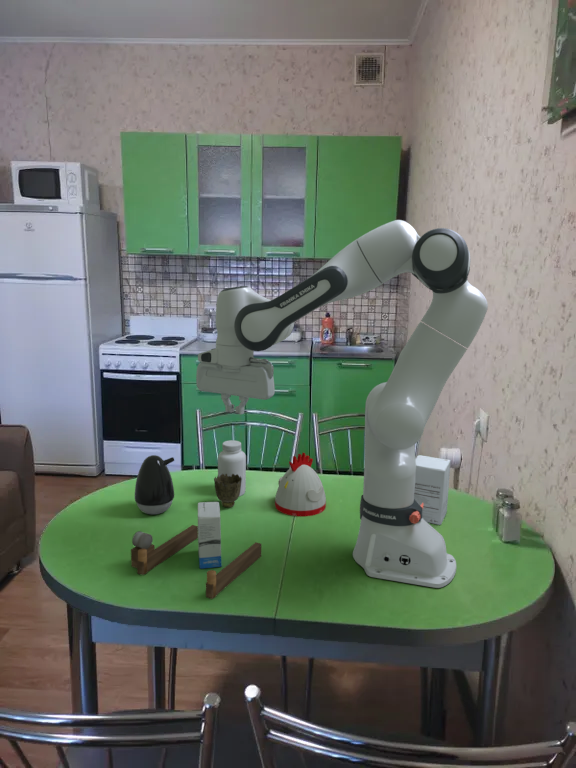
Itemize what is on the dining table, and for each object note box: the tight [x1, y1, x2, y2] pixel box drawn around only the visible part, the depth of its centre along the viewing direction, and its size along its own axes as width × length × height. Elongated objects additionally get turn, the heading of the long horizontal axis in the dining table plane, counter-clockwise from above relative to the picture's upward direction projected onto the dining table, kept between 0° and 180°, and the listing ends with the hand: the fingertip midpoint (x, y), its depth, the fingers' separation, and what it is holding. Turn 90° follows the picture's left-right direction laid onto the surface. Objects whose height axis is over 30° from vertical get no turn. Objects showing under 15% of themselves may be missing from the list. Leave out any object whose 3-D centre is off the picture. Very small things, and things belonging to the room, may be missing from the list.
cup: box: [213, 474, 242, 508], centre depth 149 cm, size 8×7×8 cm
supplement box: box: [414, 455, 451, 526], centre depth 145 cm, size 9×9×15 cm
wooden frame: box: [130, 524, 262, 600], centre depth 120 cm, size 22×19×7 cm
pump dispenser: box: [134, 454, 175, 515], centre depth 145 cm, size 10×10×15 cm
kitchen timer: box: [274, 452, 327, 517], centre depth 149 cm, size 14×14×15 cm
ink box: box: [197, 501, 222, 570], centre depth 121 cm, size 9×5×12 cm, turn 9°
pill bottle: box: [217, 439, 247, 497], centre depth 157 cm, size 8×8×15 cm
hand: (234, 412), depth 133 cm, fingers closed
